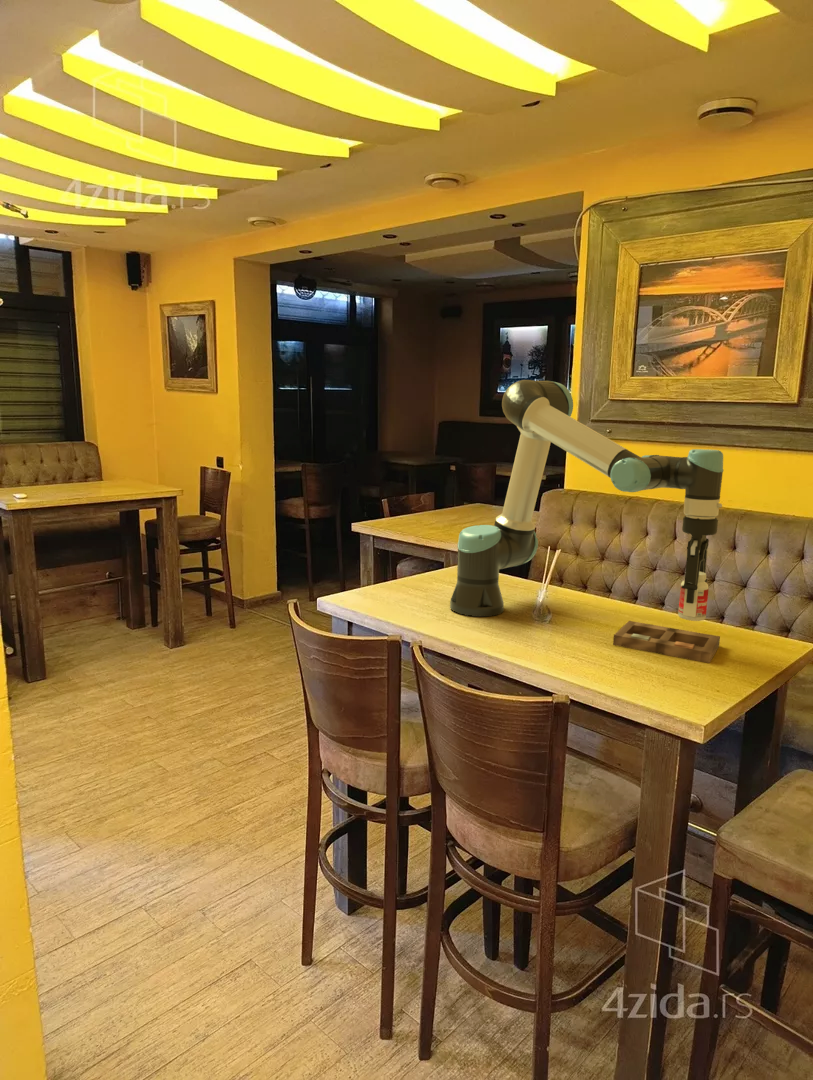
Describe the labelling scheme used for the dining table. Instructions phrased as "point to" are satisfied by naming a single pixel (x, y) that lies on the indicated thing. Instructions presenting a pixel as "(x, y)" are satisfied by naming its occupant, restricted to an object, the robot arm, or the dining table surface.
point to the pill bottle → (701, 599)
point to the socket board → (667, 641)
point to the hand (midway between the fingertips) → (692, 612)
